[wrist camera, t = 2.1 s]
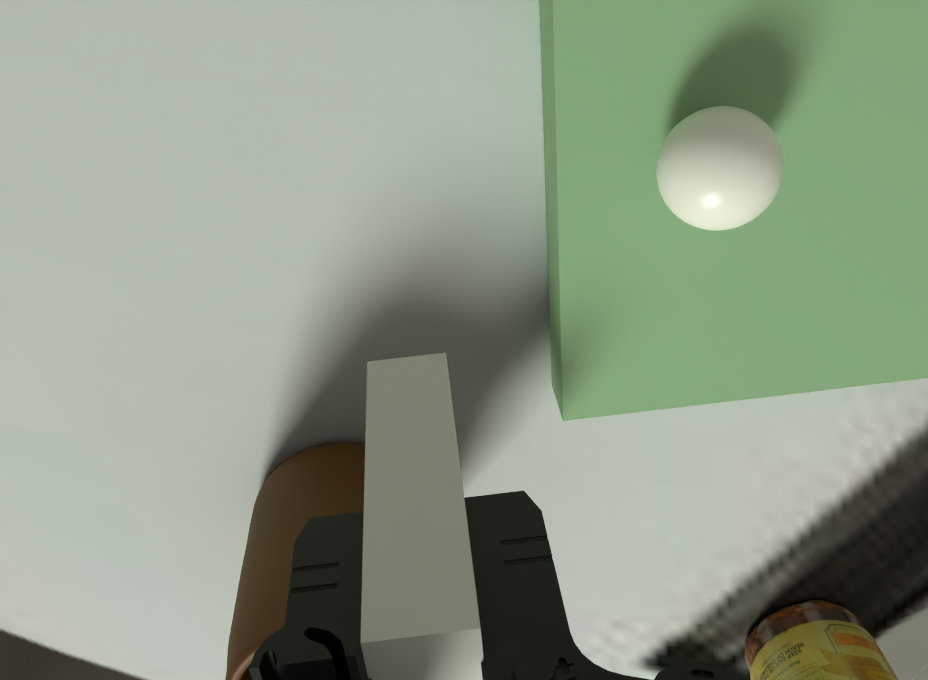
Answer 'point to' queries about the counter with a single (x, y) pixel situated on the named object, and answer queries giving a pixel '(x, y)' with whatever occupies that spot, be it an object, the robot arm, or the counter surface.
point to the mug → (287, 539)
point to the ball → (719, 168)
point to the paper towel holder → (922, 674)
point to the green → (755, 243)
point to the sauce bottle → (814, 646)
